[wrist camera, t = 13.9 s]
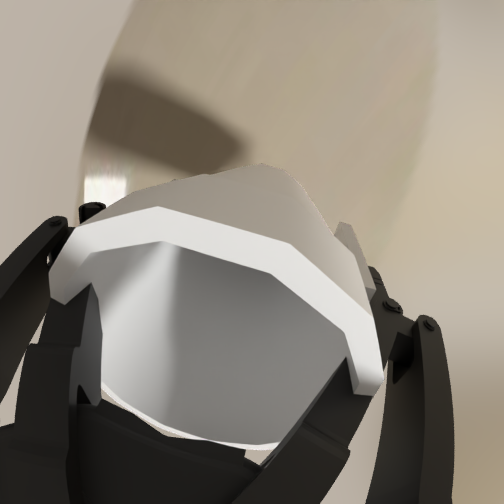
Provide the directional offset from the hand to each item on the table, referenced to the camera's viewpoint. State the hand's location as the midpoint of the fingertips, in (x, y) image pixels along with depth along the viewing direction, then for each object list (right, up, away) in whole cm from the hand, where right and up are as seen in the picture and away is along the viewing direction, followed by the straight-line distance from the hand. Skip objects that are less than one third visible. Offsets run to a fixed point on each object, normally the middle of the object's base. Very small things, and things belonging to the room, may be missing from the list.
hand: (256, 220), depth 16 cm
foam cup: (0, +1, +2) cm, 2 cm away
